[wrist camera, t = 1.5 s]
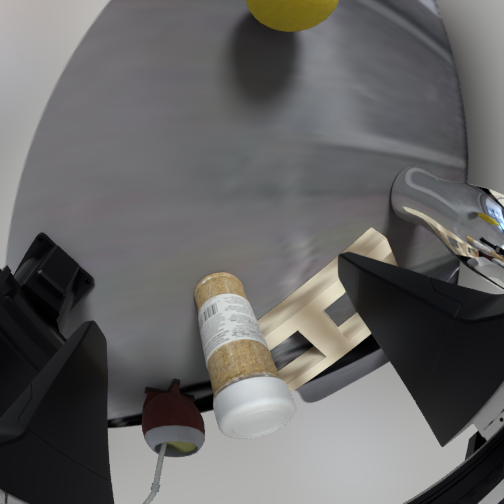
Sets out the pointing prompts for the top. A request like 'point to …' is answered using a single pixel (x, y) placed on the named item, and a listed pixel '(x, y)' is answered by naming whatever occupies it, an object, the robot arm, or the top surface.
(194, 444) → the mate gourd
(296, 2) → the lemon
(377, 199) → the top surface
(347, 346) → the beige wooden flat tray
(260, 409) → the sprinkles bottle
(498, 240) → the beer glass
